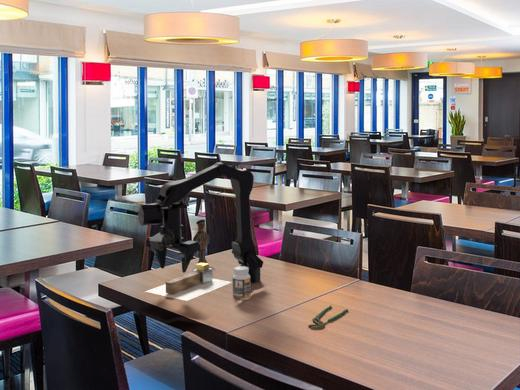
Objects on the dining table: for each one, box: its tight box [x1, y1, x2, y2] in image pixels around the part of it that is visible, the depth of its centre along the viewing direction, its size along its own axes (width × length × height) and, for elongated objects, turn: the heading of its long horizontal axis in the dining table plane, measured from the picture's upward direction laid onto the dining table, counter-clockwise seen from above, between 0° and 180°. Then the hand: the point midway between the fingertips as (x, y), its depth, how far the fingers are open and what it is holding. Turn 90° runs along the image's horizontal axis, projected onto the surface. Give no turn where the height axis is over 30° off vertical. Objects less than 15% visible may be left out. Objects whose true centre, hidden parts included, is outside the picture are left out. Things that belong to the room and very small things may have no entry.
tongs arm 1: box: [165, 271, 195, 294], centre depth 202 cm, size 14×1×4 cm, turn 146°
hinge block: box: [192, 267, 213, 284], centre depth 211 cm, size 5×4×4 cm
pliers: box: [307, 305, 349, 330], centre depth 177 cm, size 20×7×1 cm, turn 148°
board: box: [144, 277, 233, 302], centre depth 205 cm, size 18×24×1 cm
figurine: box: [192, 218, 210, 264], centre depth 236 cm, size 7×5×18 cm
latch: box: [195, 262, 210, 271], centre depth 210 cm, size 3×4×2 cm
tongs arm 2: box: [168, 273, 200, 294], centre depth 202 cm, size 14×1×4 cm, turn 146°
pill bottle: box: [232, 265, 252, 301], centre depth 195 cm, size 6×6×10 cm
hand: (173, 270), depth 198 cm, fingers open, 9 cm apart
